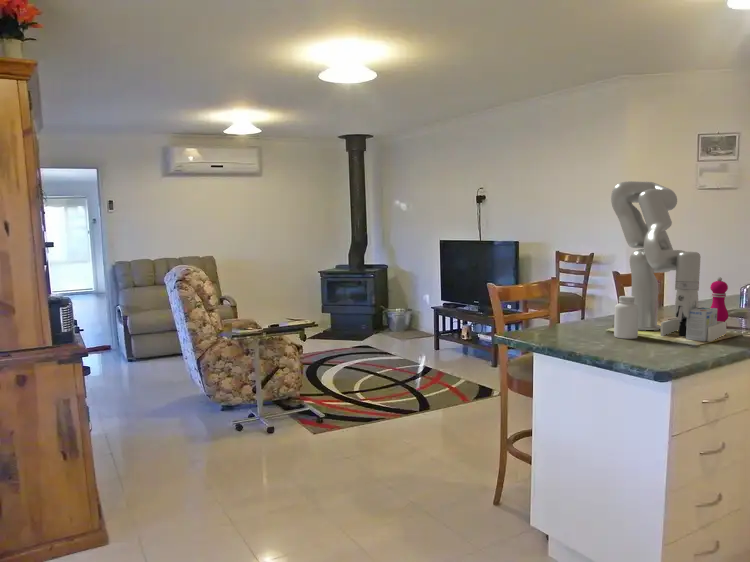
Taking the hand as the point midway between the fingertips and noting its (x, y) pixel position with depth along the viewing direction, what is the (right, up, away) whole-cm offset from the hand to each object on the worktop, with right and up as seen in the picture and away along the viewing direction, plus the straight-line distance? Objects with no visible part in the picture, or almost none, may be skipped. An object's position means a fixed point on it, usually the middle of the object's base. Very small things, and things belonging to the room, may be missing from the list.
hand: (684, 336), depth 209 cm
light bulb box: (+5, -1, -3) cm, 5 cm away
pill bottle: (-21, -1, +1) cm, 21 cm away
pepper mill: (+26, +1, +23) cm, 34 cm away
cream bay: (+5, 0, +3) cm, 6 cm away
